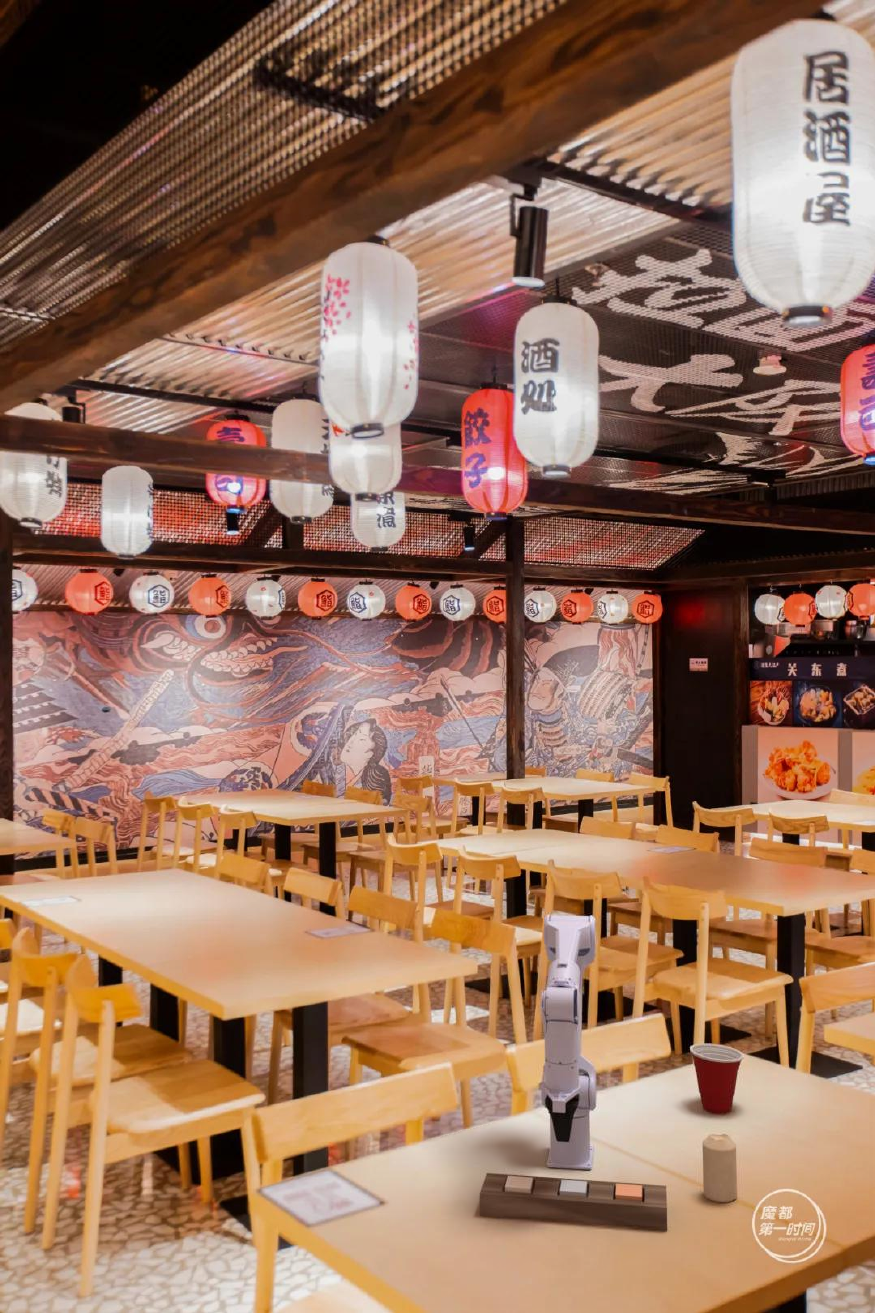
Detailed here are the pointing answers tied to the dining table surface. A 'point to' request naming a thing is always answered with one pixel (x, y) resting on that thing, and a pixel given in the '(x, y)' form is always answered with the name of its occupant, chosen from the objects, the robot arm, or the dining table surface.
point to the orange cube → (628, 1192)
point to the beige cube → (519, 1184)
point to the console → (574, 1203)
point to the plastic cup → (716, 1075)
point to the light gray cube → (573, 1188)
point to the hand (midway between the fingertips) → (563, 1140)
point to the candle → (719, 1168)
